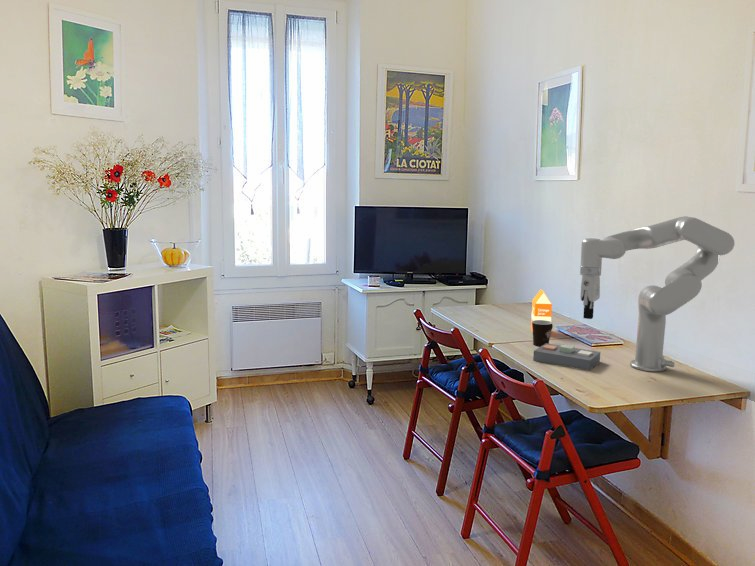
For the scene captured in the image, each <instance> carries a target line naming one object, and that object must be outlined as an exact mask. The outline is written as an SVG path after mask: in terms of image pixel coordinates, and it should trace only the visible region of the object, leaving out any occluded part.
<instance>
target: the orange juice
mask: <svg viewBox="0 0 755 566" xmlns="http://www.w3.org/2000/svg"><path fill="white" fill-rule="evenodd" d="M531 305H532V307H531V320H530V321H531V322H530V331H531V330H532V321H534V320H546V321H550V322H552V309H553V307H552V305H553V304H552V302H551V301H550V299H549V298H548V296H547V294H546V293H545V291H544V290H543V289H541V288H540V290H539V291H538V292H537V293H536V295H534V297H533V298H532V304H531ZM531 333H533V331H531Z"/></svg>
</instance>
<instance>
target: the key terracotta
mask: <svg viewBox="0 0 755 566" xmlns="http://www.w3.org/2000/svg"><path fill="white" fill-rule="evenodd" d="M542 349H545V350H551V351H554V350H556V349H557V346H552V345H545V346H543V348H542Z"/></svg>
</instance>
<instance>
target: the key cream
mask: <svg viewBox="0 0 755 566" xmlns="http://www.w3.org/2000/svg"><path fill="white" fill-rule="evenodd" d="M578 355H581V356H587V357H590V356H591V355H592V352H589V351H583V350H581V351H579V352H578Z"/></svg>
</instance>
